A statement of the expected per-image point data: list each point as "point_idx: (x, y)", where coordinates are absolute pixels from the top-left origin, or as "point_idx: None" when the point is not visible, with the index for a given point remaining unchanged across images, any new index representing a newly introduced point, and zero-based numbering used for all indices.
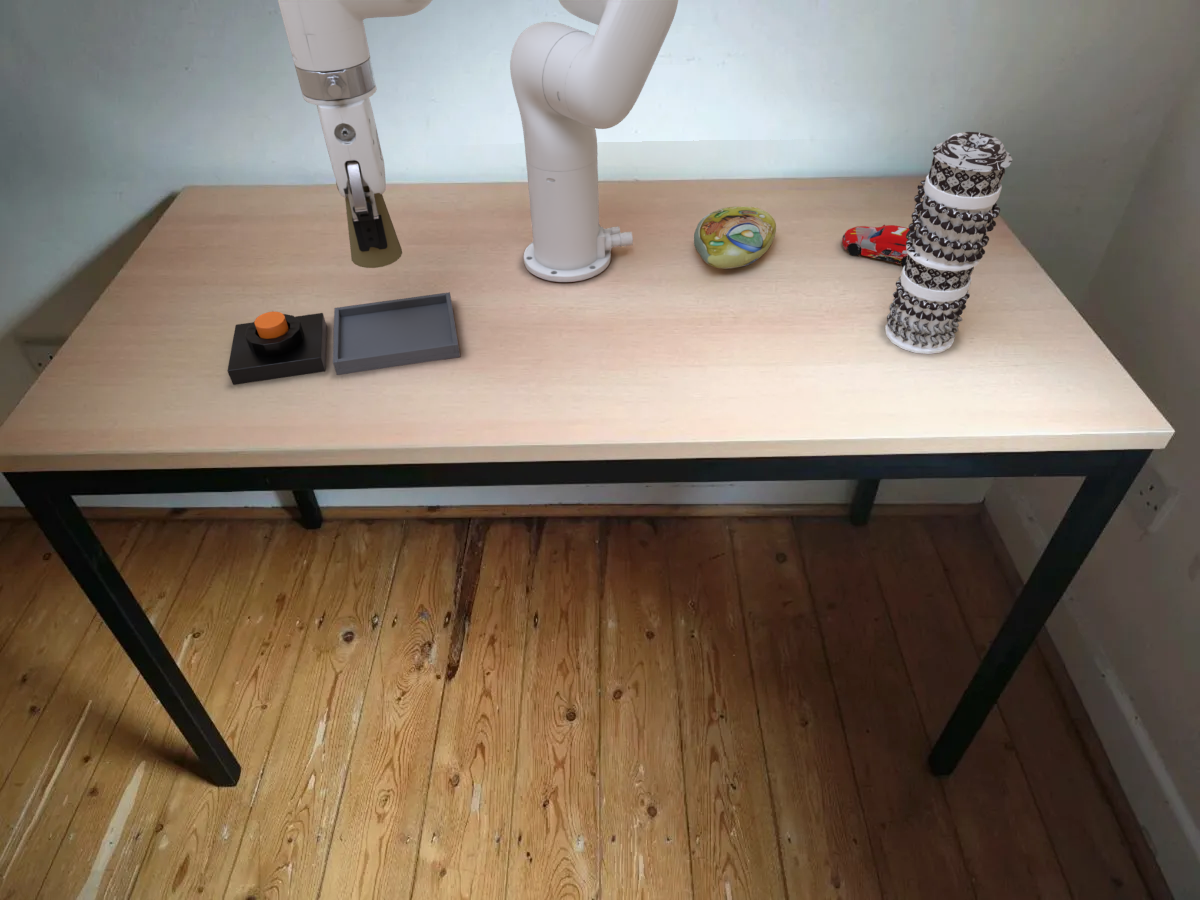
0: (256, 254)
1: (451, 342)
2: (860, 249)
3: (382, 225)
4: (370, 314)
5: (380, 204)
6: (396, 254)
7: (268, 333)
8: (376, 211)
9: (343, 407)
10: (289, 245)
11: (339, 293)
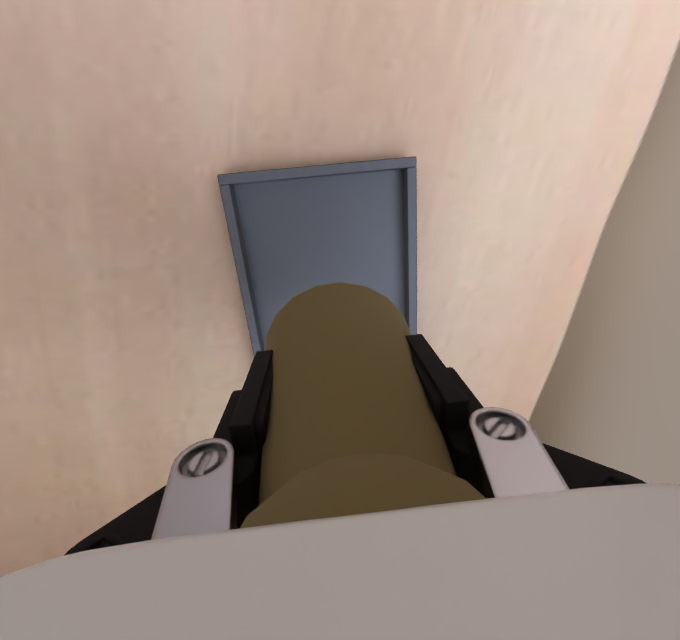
0: (64, 512)
1: (376, 174)
2: None
3: (450, 377)
4: (265, 329)
5: (414, 425)
6: (380, 299)
7: None
8: (539, 441)
9: (486, 342)
10: (26, 476)
11: (181, 383)
